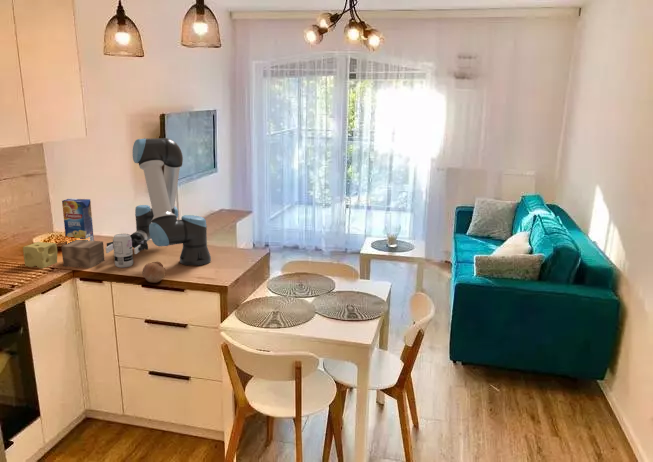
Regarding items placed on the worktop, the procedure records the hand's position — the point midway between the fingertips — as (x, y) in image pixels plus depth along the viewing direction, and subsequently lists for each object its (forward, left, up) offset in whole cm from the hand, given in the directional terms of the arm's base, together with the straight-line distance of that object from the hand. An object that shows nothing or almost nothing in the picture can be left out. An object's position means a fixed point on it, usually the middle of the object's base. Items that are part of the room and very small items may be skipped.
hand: (120, 250), depth 246 cm
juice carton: (+45, -32, -8) cm, 56 cm away
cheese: (+38, +7, -8) cm, 40 cm away
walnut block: (+20, 0, -8) cm, 22 cm away
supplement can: (0, -2, -8) cm, 8 cm away
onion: (-25, +15, -8) cm, 30 cm away
